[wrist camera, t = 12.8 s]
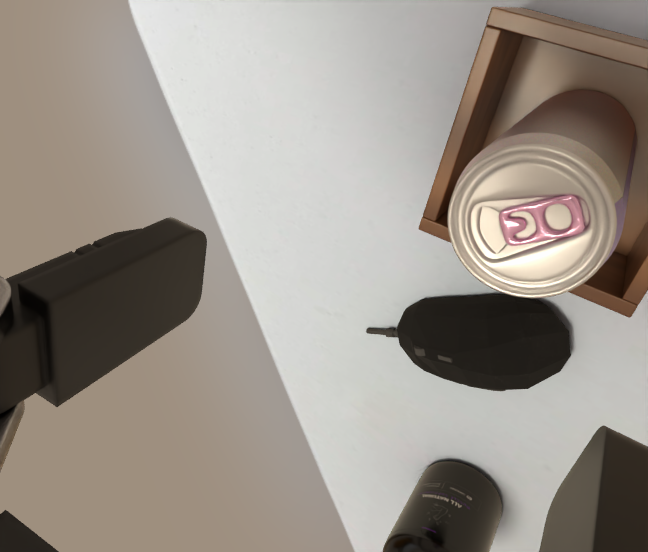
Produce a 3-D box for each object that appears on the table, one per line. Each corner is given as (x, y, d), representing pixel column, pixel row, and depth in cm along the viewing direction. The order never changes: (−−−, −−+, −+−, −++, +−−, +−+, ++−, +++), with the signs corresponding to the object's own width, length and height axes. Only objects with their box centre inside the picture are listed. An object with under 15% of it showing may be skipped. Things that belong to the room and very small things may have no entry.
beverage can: (647, 181, 30) (640, 292, 18) (534, 205, 34) (466, 312, 22) (624, 71, 29) (600, 114, 17) (509, 108, 32) (421, 166, 20)
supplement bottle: (468, 446, 44) (414, 568, 34) (521, 515, 44) (483, 656, 34) (405, 470, 48) (342, 584, 38) (454, 532, 48) (403, 662, 38)
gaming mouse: (360, 293, 43) (336, 315, 40) (567, 291, 35) (558, 319, 32) (375, 364, 45) (354, 391, 42) (575, 378, 37) (567, 412, 34)
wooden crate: (520, 7, 30) (491, 6, 25) (753, 68, 27) (776, 81, 22) (452, 198, 36) (417, 229, 31) (634, 269, 33) (630, 318, 28)
